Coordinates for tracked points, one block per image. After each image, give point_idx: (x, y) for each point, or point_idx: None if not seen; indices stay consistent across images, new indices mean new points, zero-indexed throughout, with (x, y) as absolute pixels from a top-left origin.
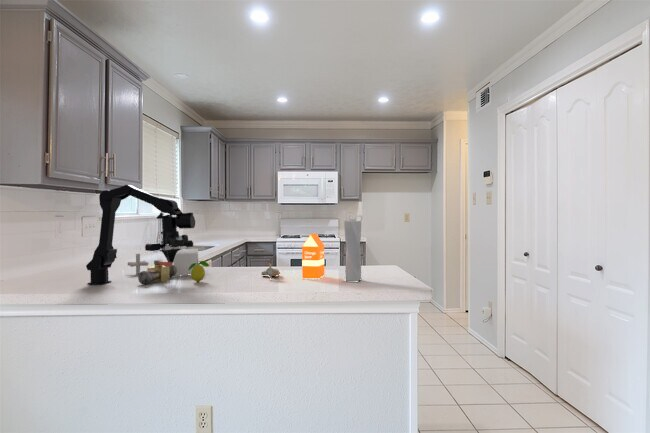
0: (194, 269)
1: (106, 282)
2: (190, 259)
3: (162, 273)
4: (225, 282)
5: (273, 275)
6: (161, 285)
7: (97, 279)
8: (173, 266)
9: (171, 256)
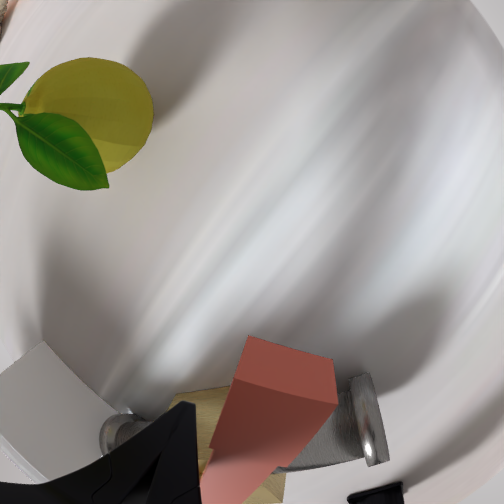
0: (97, 86)
1: (374, 491)
2: (17, 410)
3: None
4: (90, 12)
5: (5, 7)
6: (354, 275)
7: (403, 498)
8: (107, 447)
9: (150, 493)
